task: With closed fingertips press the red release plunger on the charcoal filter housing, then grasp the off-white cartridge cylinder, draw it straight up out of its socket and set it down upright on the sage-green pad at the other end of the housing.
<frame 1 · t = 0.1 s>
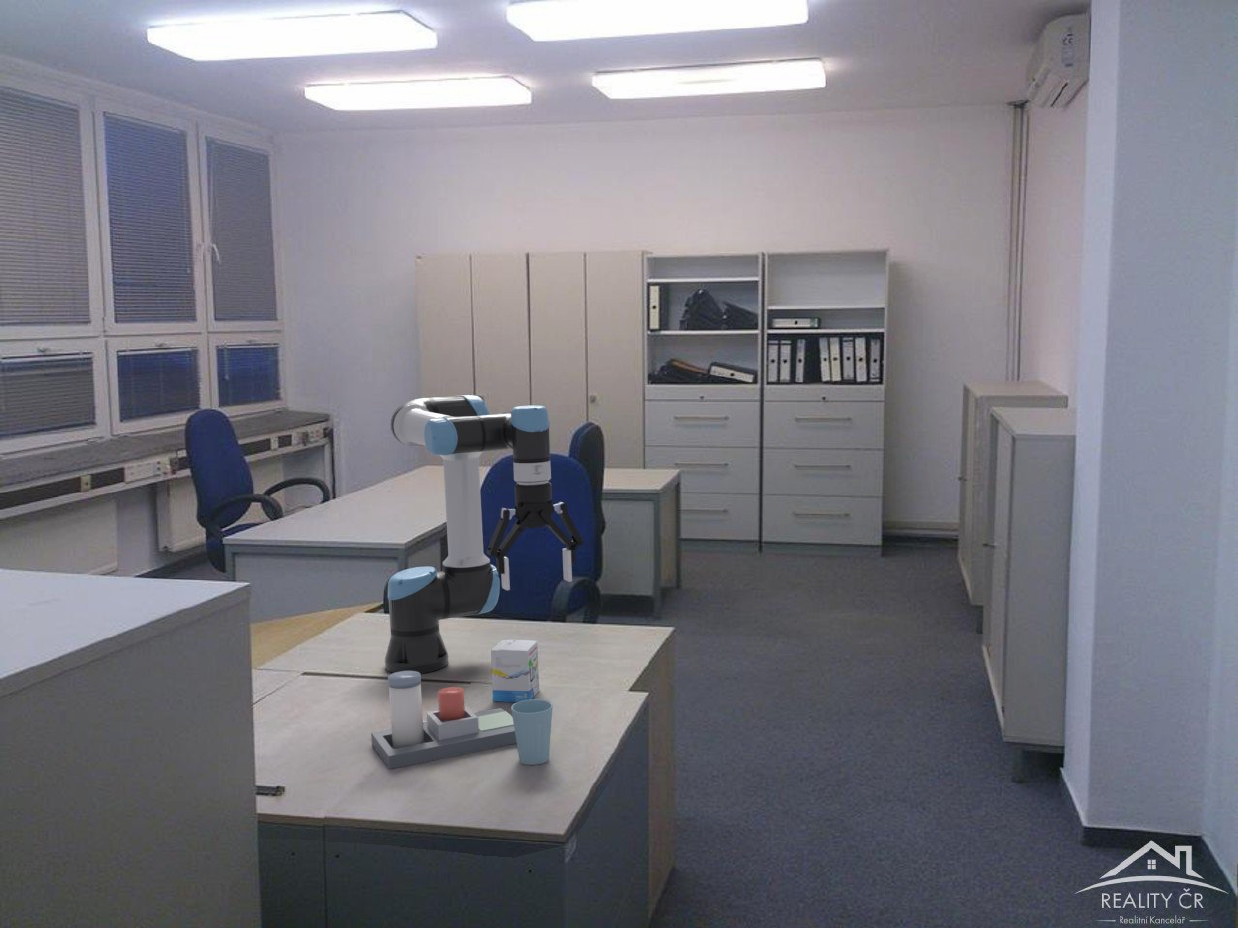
hand: (537, 584, 226), 28 cm above the table, fingers open, 13 cm apart
ink box: (516, 696, 243), on the table
cup: (534, 760, 206), on the table
housing: (448, 742, 216), on the table
cartridge: (408, 750, 213), resting in housing
plunger: (451, 703, 216), point 8 cm above the table, slide at 0.0 cm
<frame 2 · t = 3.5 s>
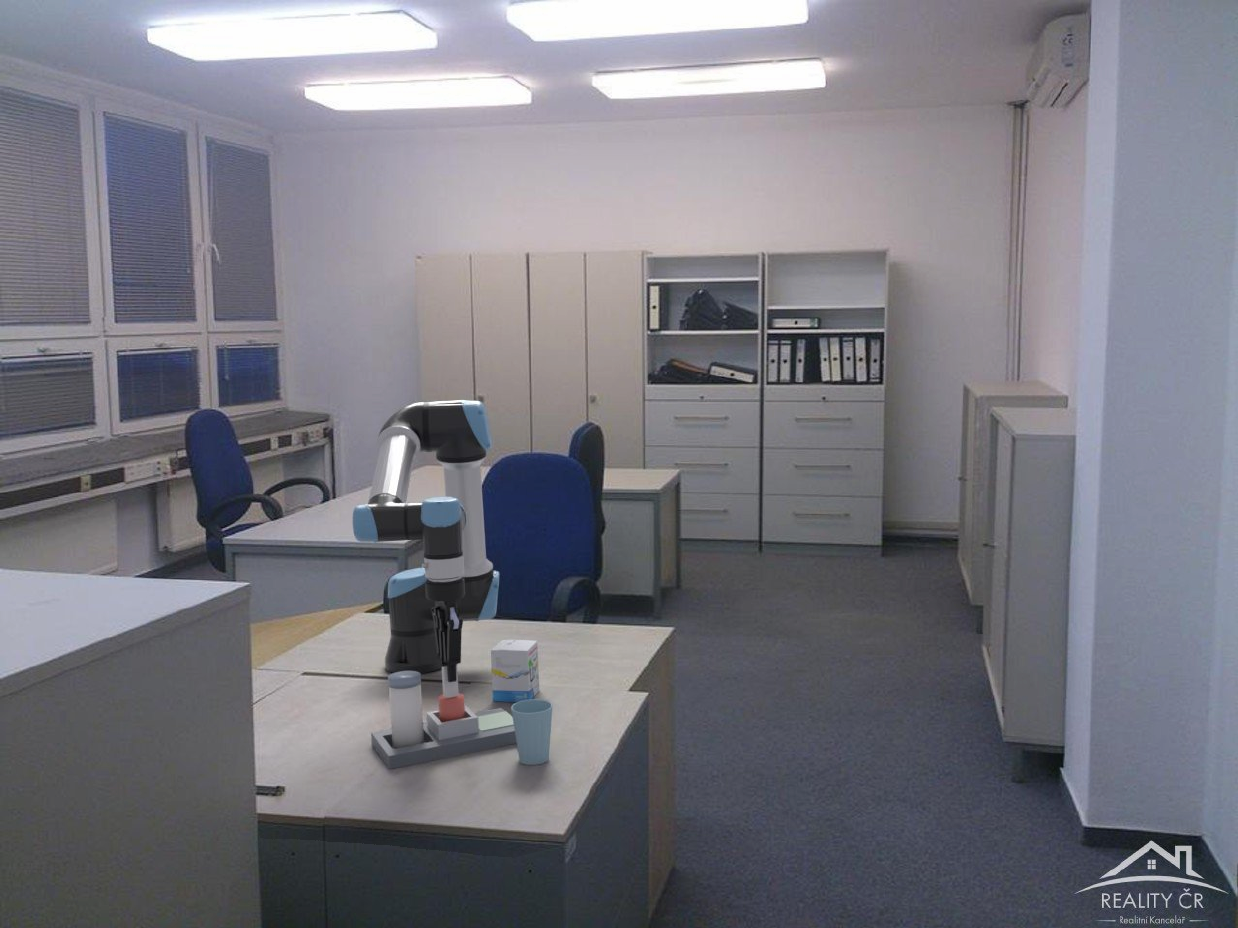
hand: (451, 695, 215), 9 cm above the table, fingers closed
plunger: (451, 709, 216), point 7 cm above the table, slide at 1.2 cm, touching gripper
everything else where it was.
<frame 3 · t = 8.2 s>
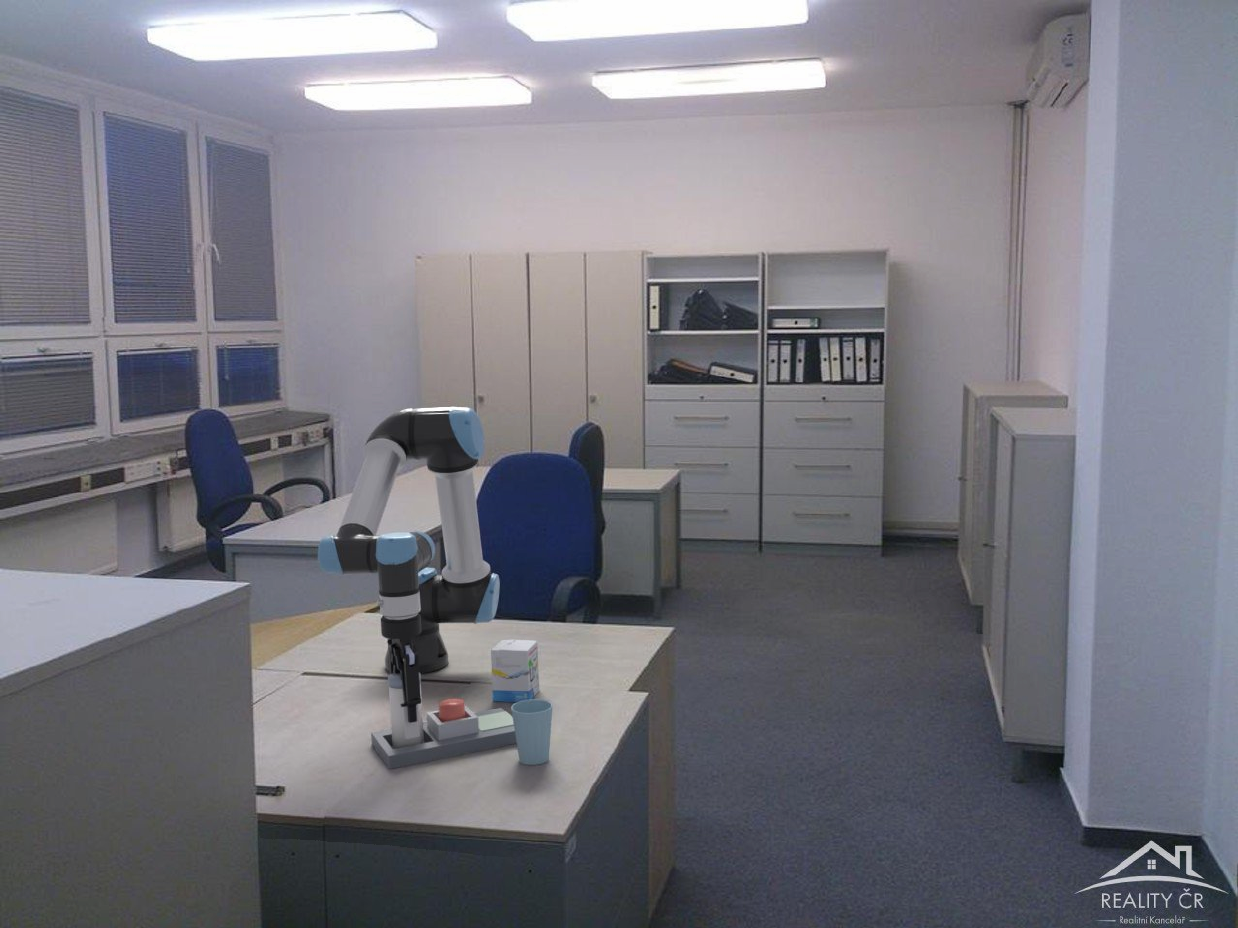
hand: (407, 731, 212), 4 cm above the table, fingers closed on cartridge, 6 cm apart
cartridge: (408, 750, 213), resting in housing, touching gripper
plunger: (452, 715, 216), point 5 cm above the table, slide at 2.4 cm
everything else where it was.
when the fingers open (8 cm above the table, at t = 14.2 s): cartridge drops 1 cm, resting on housing.
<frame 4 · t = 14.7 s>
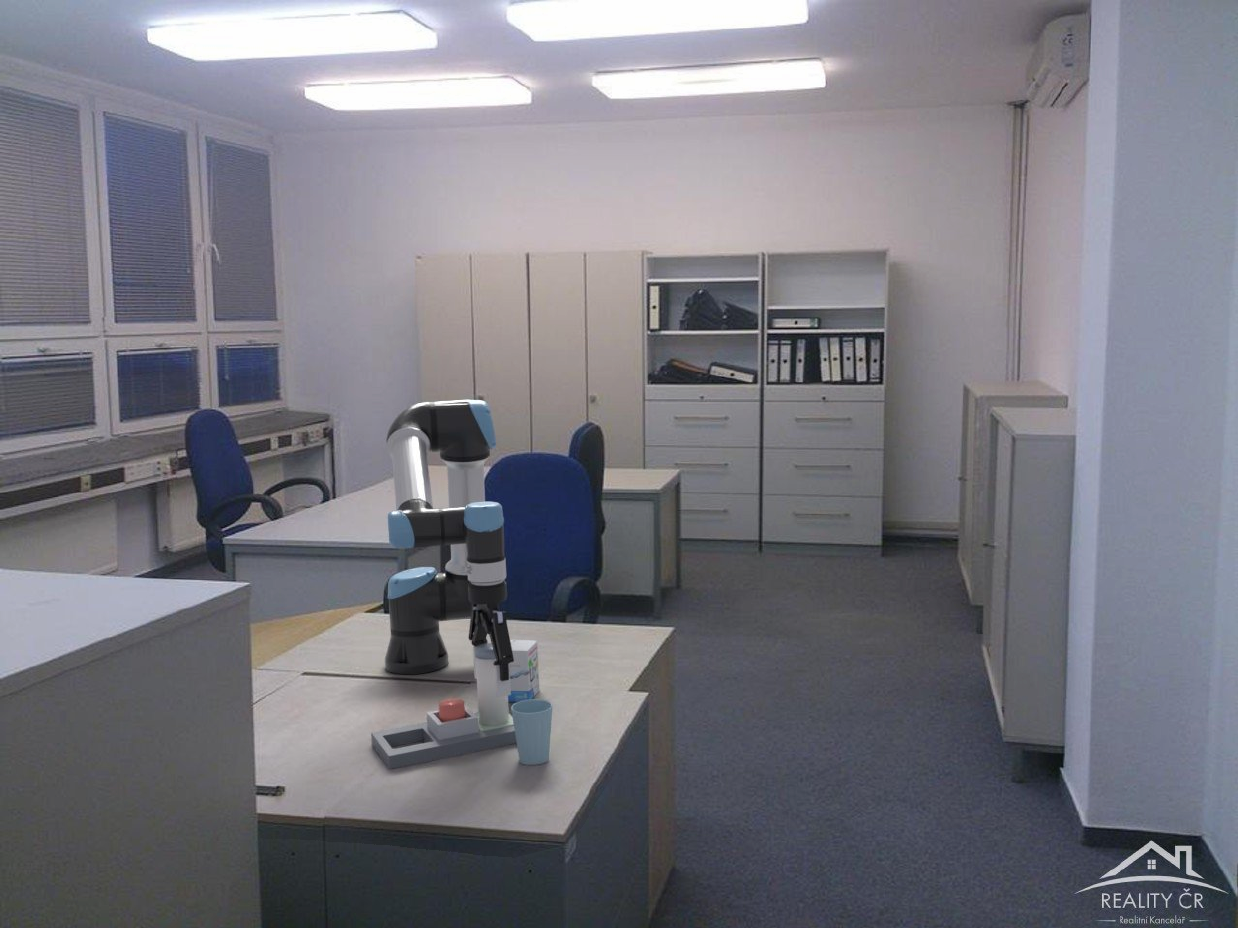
hand: (492, 686, 219), 10 cm above the table, fingers open, 13 cm apart
cartridge: (493, 720, 220), point 3 cm above the table, touching housing
everything else where it was.
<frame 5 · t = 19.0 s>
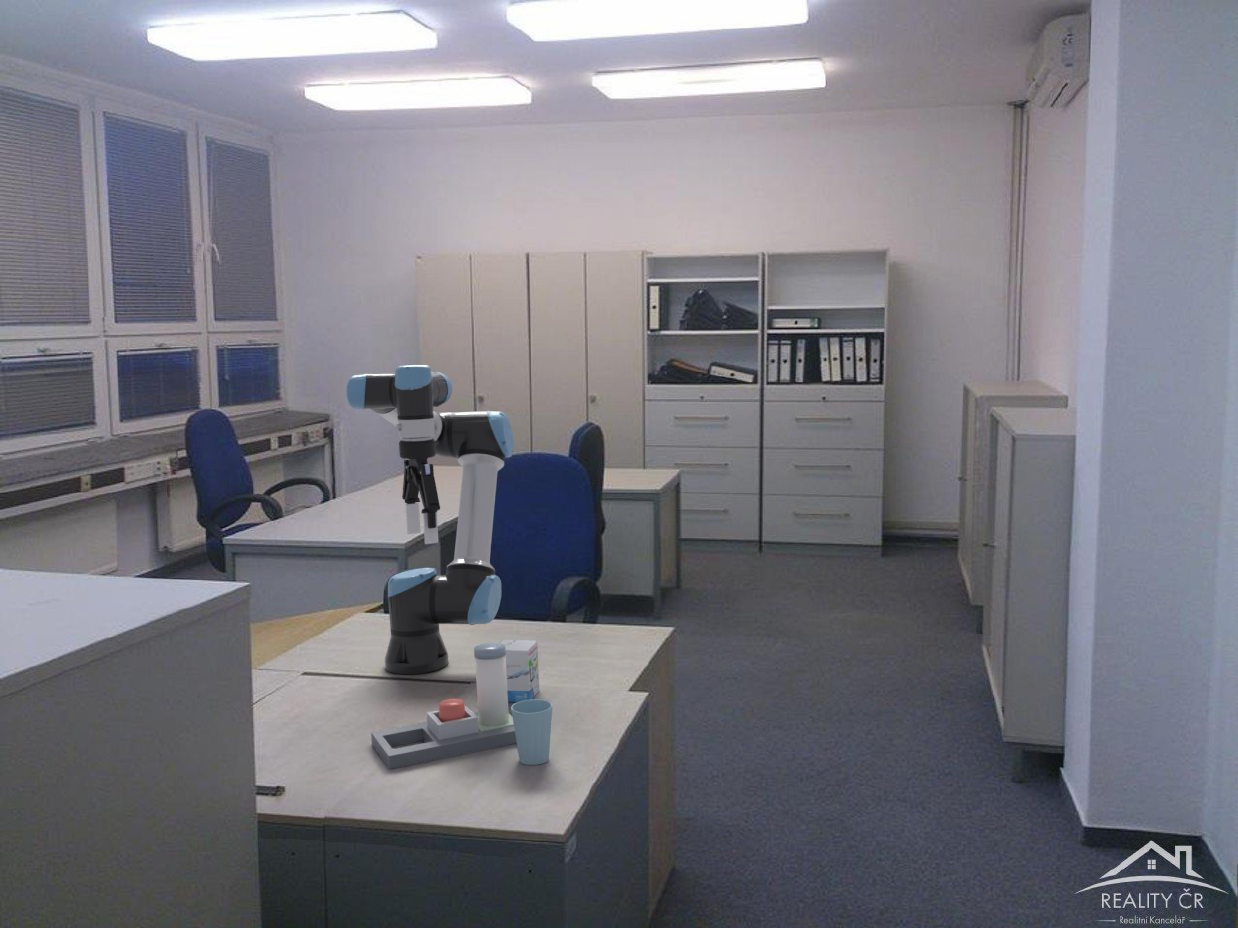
hand: (422, 538, 234), 37 cm above the table, fingers open, 13 cm apart
nothing on the table moved.
at the end: plunger slide at 2.4 cm; cartridge inside the target area on the housing (0.1 cm from its centre), point 2.7 cm above the housing's base; cartridge tilted 1° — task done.
